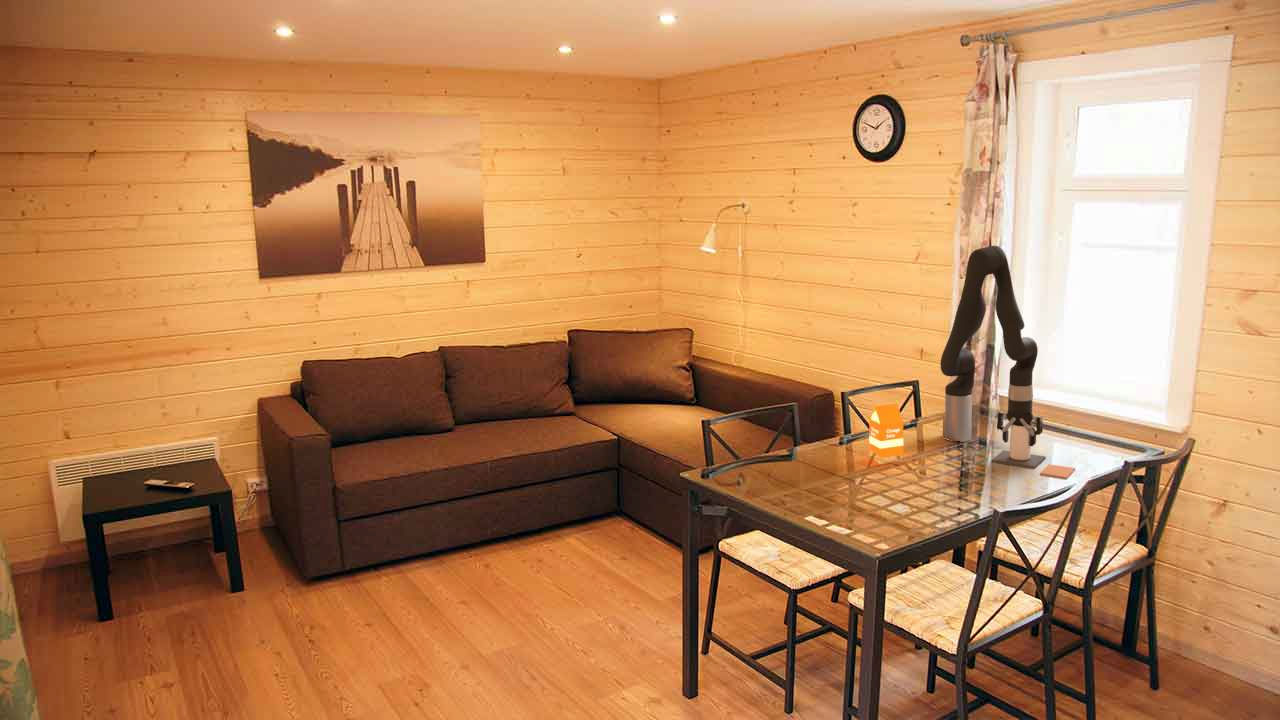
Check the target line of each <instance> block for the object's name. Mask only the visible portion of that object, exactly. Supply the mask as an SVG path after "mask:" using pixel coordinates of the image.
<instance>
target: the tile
mask: <svg viewBox="0 0 1280 720" xmlns="http://www.w3.org/2000/svg"><path fill="white" fill-rule="evenodd" d="M1075 470H1076V468H1075V467H1070V466H1064V465H1058V464H1050V463H1049V464H1047V466H1046V467H1045V468H1043V469H1042V470H1041V471H1040V472H1039V476H1043V475H1045V477H1050V476H1051V477H1050V478H1058V479H1062V478H1066V479H1065V480H1067V479H1068V478H1070V476H1071V475H1072V474H1073V473H1074V472H1075ZM1073 471H1074V472H1073Z"/></svg>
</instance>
